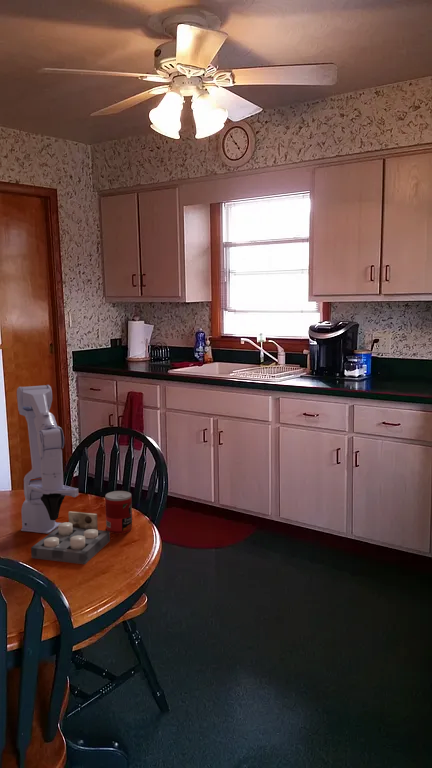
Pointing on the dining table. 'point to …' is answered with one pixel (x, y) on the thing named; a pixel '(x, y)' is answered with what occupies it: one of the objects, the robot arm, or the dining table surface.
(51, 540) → the button near left
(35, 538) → the dining table surface
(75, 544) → the button near right
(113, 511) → the canned food
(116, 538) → the dining table surface
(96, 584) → the dining table surface
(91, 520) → the pattern plaque
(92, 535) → the button far right
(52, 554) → the button board
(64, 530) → the button far left
